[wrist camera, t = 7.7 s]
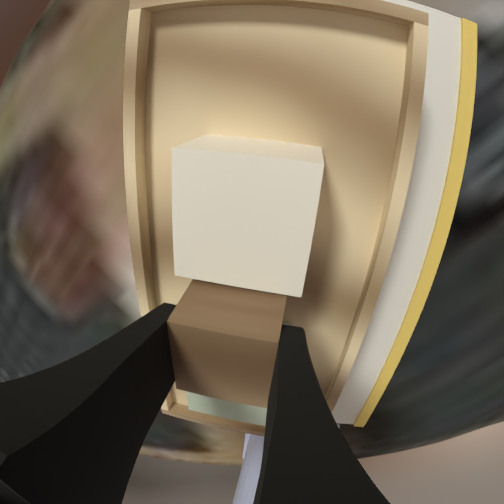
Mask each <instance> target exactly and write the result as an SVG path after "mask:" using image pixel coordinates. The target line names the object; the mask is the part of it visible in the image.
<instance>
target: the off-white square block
mask: <svg viewBox="0 0 504 504" xmlns="http://www.w3.org/2000/svg"><path fill="white" fill-rule="evenodd" d="M323 170H324V159H323V153H322V147H318V146H311V145H304V144H297V143H290V142H282V141H274V140H265V139H255V138H245V137H234V136H221V135H204V136H201V137H199V138H196V139H194V140H191V141H188V142H186V143H183V144H181V145H178V146H176V147H174V148H172V229H173V254H174V274H175V276H180V277H186V278H191V279H196V280H202V281H207V282H213V283H218V284H224V285H230V286H235V287H241V288H247V289H253V290H259V291H265V292H271V293H277V294H283V295H289V296H295V297H302V292H303V287H304V282H305V276H306V271H307V266H308V260H309V255H310V250H311V244H312V238H313V233H314V227H315V221H316V215H317V209H318V203H319V196H320V190H321V183H322V177H323Z"/></svg>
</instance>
